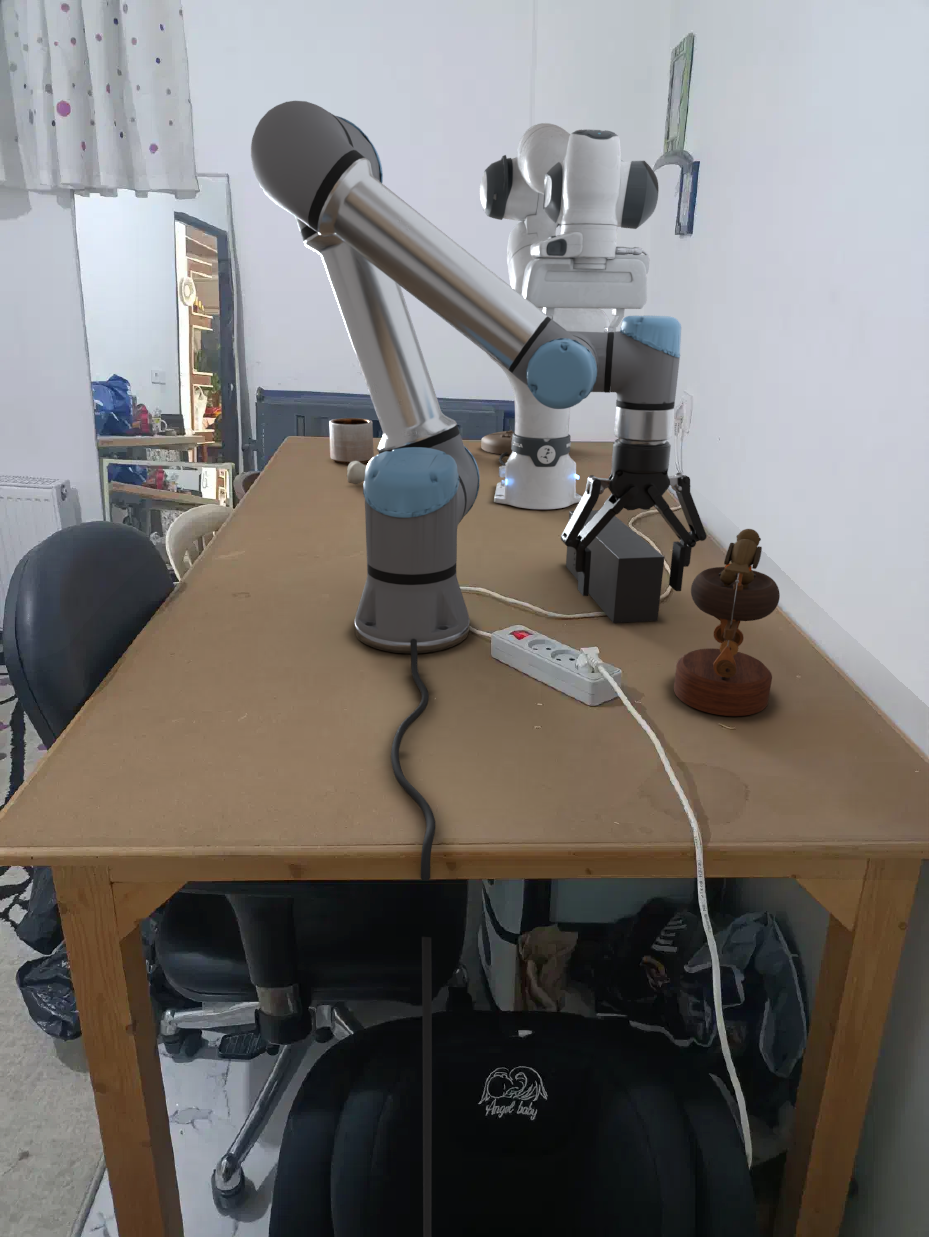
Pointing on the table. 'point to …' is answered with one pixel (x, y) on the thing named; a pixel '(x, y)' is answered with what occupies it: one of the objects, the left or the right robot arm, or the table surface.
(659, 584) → the box
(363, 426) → the planter
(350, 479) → the dog toy
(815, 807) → the table surface
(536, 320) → the left robot arm
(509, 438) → the brown rounded flat piece
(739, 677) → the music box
